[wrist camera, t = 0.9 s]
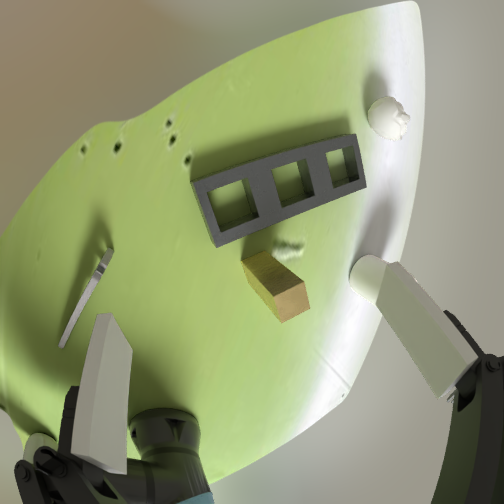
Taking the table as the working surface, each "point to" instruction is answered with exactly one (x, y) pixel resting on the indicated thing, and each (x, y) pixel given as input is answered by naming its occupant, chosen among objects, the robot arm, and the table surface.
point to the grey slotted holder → (265, 192)
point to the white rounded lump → (388, 118)
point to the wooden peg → (276, 286)
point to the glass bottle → (37, 445)
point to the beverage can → (368, 277)
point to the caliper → (86, 295)
